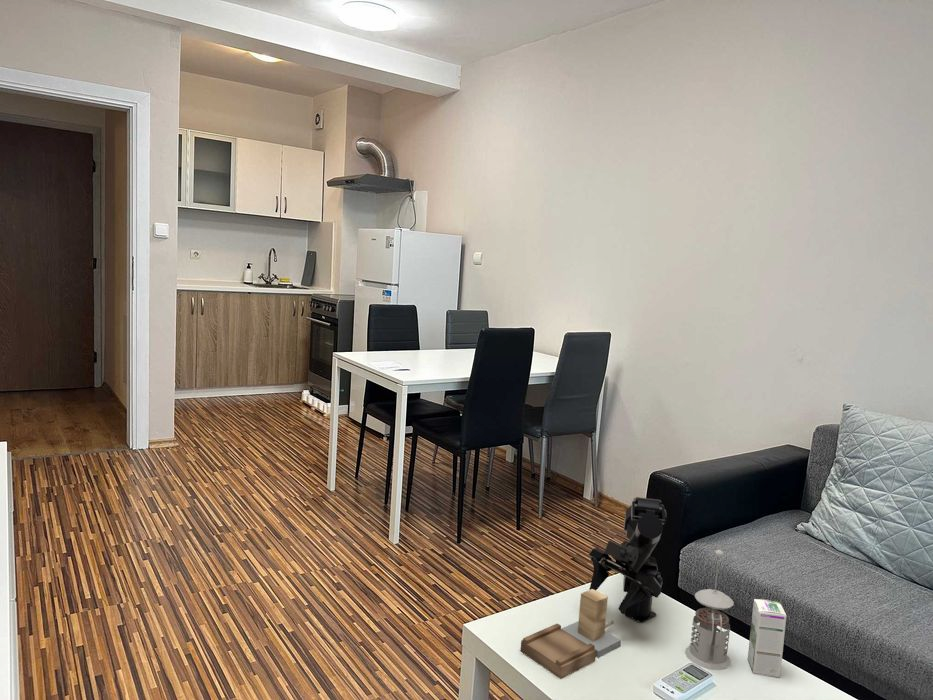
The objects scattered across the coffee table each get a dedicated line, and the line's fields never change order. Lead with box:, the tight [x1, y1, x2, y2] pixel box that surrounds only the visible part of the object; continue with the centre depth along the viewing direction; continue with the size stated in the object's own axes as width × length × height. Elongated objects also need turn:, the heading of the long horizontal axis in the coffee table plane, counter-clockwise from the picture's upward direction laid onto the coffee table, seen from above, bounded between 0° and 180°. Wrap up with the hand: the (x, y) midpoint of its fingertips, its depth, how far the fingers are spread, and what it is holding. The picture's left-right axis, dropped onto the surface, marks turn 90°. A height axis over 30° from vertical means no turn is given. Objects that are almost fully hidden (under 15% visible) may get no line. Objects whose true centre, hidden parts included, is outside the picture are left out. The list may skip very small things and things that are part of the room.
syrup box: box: [747, 598, 787, 678], centre depth 146 cm, size 6×6×14 cm
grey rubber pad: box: [561, 620, 622, 658], centre depth 154 cm, size 8×11×2 cm
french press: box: [684, 549, 735, 671], centre depth 148 cm, size 10×12×25 cm
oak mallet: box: [578, 589, 615, 641], centre depth 155 cm, size 10×4×10 cm, turn 130°
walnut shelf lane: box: [520, 623, 597, 679], centre depth 147 cm, size 11×12×3 cm
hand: (604, 601), depth 157 cm, fingers open, 9 cm apart
